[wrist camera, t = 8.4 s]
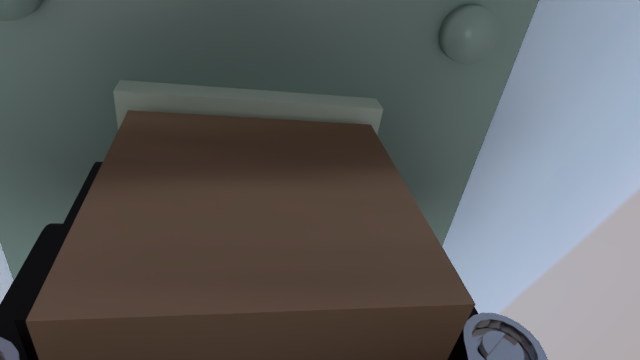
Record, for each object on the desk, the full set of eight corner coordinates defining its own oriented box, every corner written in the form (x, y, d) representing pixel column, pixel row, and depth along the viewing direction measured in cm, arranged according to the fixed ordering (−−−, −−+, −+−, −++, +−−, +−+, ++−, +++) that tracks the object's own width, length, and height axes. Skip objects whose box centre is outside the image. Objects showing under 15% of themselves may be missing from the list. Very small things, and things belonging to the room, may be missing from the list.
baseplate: (-84, -136, 7) (-164, -143, 6) (520, -41, 10) (569, -29, 8) (52, 318, 14) (30, 369, 12) (398, 305, 16) (414, 345, 15)
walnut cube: (128, 109, 8) (26, 321, 4) (371, 124, 9) (475, 304, 5) (147, 287, 11) (96, 521, 7) (334, 283, 12) (385, 483, 8)
